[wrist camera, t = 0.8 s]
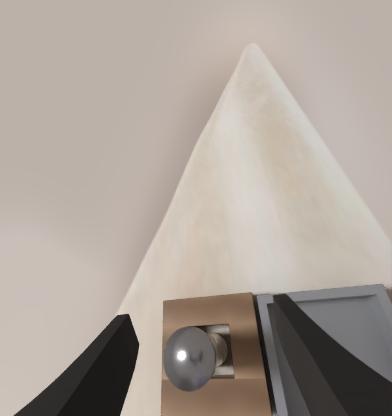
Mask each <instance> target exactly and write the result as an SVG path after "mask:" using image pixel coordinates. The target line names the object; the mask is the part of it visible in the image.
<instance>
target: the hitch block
mask: <svg viewBox="0 0 392 416" xmlns="http://www.w3.org/2000/svg"><path fill="white" fill-rule="evenodd" d="M224 324H229V331H230V340H231V349H232V358H233V368H234V375H213V376H212V377H211V379H210V380H209V381H208V382H207V383H206V384H205V385H204V386H203V387H201V388H200V389H198V390H196V391H191V392H187V391H182V390H180V389H178V388H176V387H175V386H174V385H173V384H172V383H171V382H170V380H169V379H168V377H167V375H166V373H165V369H164V364H163V353H164V348H165V345H166V343H167V341H168V339H169V337H170V336H171V335H172V334H173V333H174V332H175V331H176V330H178V329H180V328H182V327H194V326H209V325H224ZM161 416H272V408H271V402H270V396H269V390H268V384H267V378H266V372H265V366H264V360H263V354H262V348H261V342H260V336H259V330H258V324H257V318H256V312H255V306H254V300H253V295H252V293H251V292H249V293H239V294H229V295H218V296H208V297H198V298H187V299H177V300H167V301H163V344H162V388H161Z"/></svg>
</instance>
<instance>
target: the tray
mask: <svg viewBox="0 0 392 416" xmlns="http://www.w3.org/2000/svg"><path fill="white" fill-rule="evenodd" d="M279 294H287V295H288V296H289V297H290V298H291V299H292V300H293V301H294V302H295V303H296V304H297V305H298V306H299V307H300V308H301V309H302V310H303V311H304V312H305V313H306V314H307V315H308V316H309V317H310V318H311V319H312V320H313V321H314V322H315V323H316V324H317V325H318V326H320V327H321V328H322V329H323V330H324V331H325V332H326V333H327V334H329V335H330V336H331V337H332V338H333V339H334V340H336V341H337V342H338V343H339V344H340V345H342V346H343V347H344V348H345V349H347V350H348V351H349V352H350V353H352V354H353V355H354V356H355V357H357V358H358V359H359V360H361V361H362V362H364V363H365V364H366V365H368V366H369V367H370V368H372V369H373V370H375V371H376V372H377V373H379V374H380V375H382V376H383V377H385V378H386V379H387V380H389V381H391V382H392V303H391V301H390V298H389V296H388V294H387V292H386V290H385V287H384V285H383V284H376V285H365V286H354V287H344V288H333V289H322V290H312V291H301V292H290V293H279ZM273 295H278V294H269V295H258V296H257V301H258V307H259V312H260V318H261V324H262V330H263V335H264V341H265V347H266V352H267V358H268V364H269V370H270V375H271V381H272V387H273V393H274V398H275V404H276V410H277V415H278V416H310V413H309V410H308V408H307V406H306V403H305V401H304V399H303V396H302V394H301V392H300V389H299V387H298V385H297V382H296V380H295V378H294V375H293V373H292V371H291V368H290V366H289V364H288V361H287V359H286V357H285V354H284V352H283V349H282V346H281V343H280V340H279V336H278V333H277V330H276V322H275V313H274V304H273Z"/></svg>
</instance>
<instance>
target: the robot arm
mask: <svg viewBox="0 0 392 416" xmlns="http://www.w3.org/2000/svg"><path fill="white" fill-rule="evenodd" d="M273 304H274V313H275V322H276V330H277V333H278V336H279V340H280V343H281V346H282V349H283V352H284V354H285V357H286V359H287V361H288V364H289V366H290V368H291V371H292V373H293V375H294V378H295V380H296V382H297V385H298V387H299V389H300V392H301V394H302V396H303V399H304V401H305V403H306V406H307V408H308V410H309V413H310V416H392V382H391V381H389V380H387V379H386V378H385V377H383V376H382V375H380V374H379V373H377V372H376V371H375V370H373V369H372V368H370V367H369V366H368V365H366V364H365V363H364V362H362V361H361V360H359V359H358V358H357V357H355V356H354V355H353V354H352V353H350V352H349V351H348V350H347V349H345V348H344V347H343V346H342V345H340V344H339V343H338V342H337V341H336V340H334V339H333V338H332V337H331V336H330V335H329V334H327V333H326V332H325V331H324V330H323V329H322V328H321V327H320V326H318V325H317V324H316V323H315V322H314V321H313V320H312V319H311V318H310V317H309V316H308V315H307V314H306V313H305V312H304V311H303V310H302V309H301V308H300V307H299V306H298V305H297V304H296V303H295V302H294V301H293V300H292V299H291V298H290V297H289V296H288V295H287V294H278V295H273ZM138 349H139V342H138V339H137V336H136V333H135V330H134V328H133V325H132V322H131V319H130V316H129V314H123V315H117V316H116V317H115V318H114V319H113V320H112V321H111V322H110V324H109V325H108V326H107V327H106V328H105V329H104V330H103V331H102V332H101V333H100V335H99V336H98V337H97V338H96V339H95V340H94V341H93V342H92V343H91V344H90V345H89V346H88V348H87V349H86V350H85V351H84V352H83V353H82V354H81V355H80V356H79V357H78V358H77V359H76V360H75V361H74V362H73V363H72V364H71V365H70V366H69V367H68V368H67V369H66V370H65V371H64V372H63V373H62V374H61V375H60V376H59V377H58V378H57V379H56V380H55V381H54V382H52V383H51V384H50V385H49V386H48V387H47V388H46V389H45V390H44V391H42V392H41V393H40V394H39V395H38V396H37V397H36V398H35V399H33V400H32V401H31V402H30V403H29V404H27V405H26V406H25V407H24V408H22V409H21V410H20V411H19V412H18V413H16V414H15V415H14V416H120V414H121V411H122V408H123V404H124V401H125V398H126V395H127V392H128V389H129V385H130V382H131V379H132V376H133V372H134V369H135V365H136V360H137V355H138Z"/></svg>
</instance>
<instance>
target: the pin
mask: <svg viewBox="0 0 392 416" xmlns="http://www.w3.org/2000/svg"><path fill="white" fill-rule="evenodd" d="M226 357H227V345H226V342H225V340H224V339H223V338H222V337H221V336H220V335H219V334H216V333H205V332H204V331H203V330H201V329H199V328H197V327H182V328H180V329H178V330H176V331H175V332H174V333H173V334H172V335H171V336H170V337H169V339H168V341H167V343H166V345H165V348H164V353H163V364H164V369H165V373H166V375H167V377H168V379H169V380H170V382H171V383H172V384H173V385H174V386H175V387H176V388H178V389H180V390H182V391H187V392H191V391H196V390H198V389H200V388H201V387H203V386H204V385H205V384H206V383H207V382H208V381H209V380H210V379H211V377H212V375H213V373H214V370H215V368H216V367H218V366H219V365H221V364H222V363H223V362H224V361H225V359H226Z"/></svg>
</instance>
